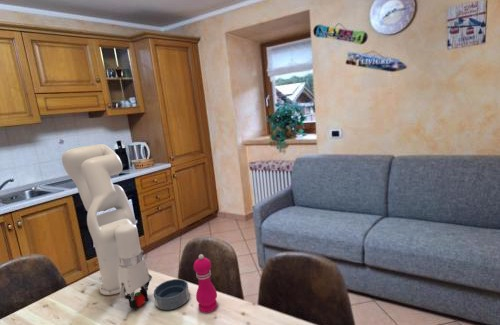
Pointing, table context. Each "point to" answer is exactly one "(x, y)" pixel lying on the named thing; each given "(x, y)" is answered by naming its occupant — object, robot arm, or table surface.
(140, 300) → the strawberry
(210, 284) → the pepper mill
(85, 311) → the table surface
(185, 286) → the bowl
